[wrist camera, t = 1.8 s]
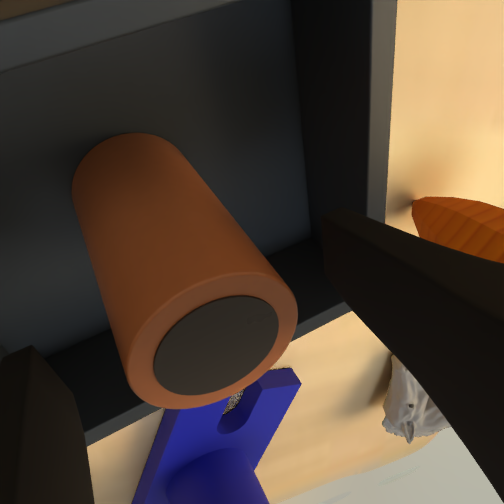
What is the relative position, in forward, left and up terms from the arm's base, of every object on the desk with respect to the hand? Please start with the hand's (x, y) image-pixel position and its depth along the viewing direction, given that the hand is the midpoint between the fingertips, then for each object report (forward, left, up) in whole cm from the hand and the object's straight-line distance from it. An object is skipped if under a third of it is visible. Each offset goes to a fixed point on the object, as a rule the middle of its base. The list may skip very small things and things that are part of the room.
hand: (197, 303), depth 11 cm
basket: (0, 0, -7) cm, 7 cm away
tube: (0, 0, -6) cm, 6 cm away
